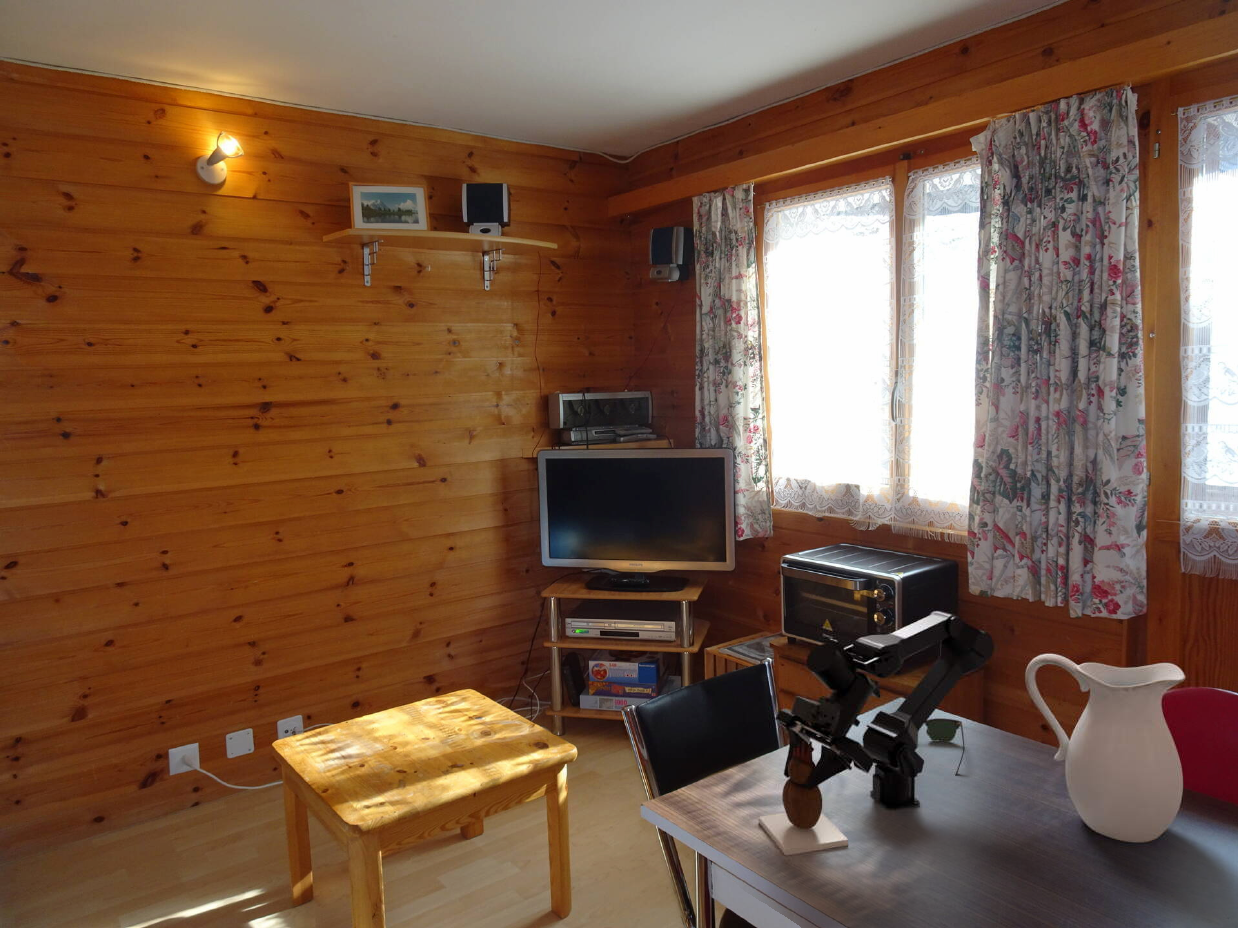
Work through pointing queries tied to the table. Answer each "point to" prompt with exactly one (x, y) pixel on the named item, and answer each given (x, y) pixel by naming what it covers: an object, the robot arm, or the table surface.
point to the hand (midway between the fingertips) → (796, 782)
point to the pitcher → (1119, 748)
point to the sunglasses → (944, 730)
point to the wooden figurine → (801, 790)
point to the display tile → (802, 834)
